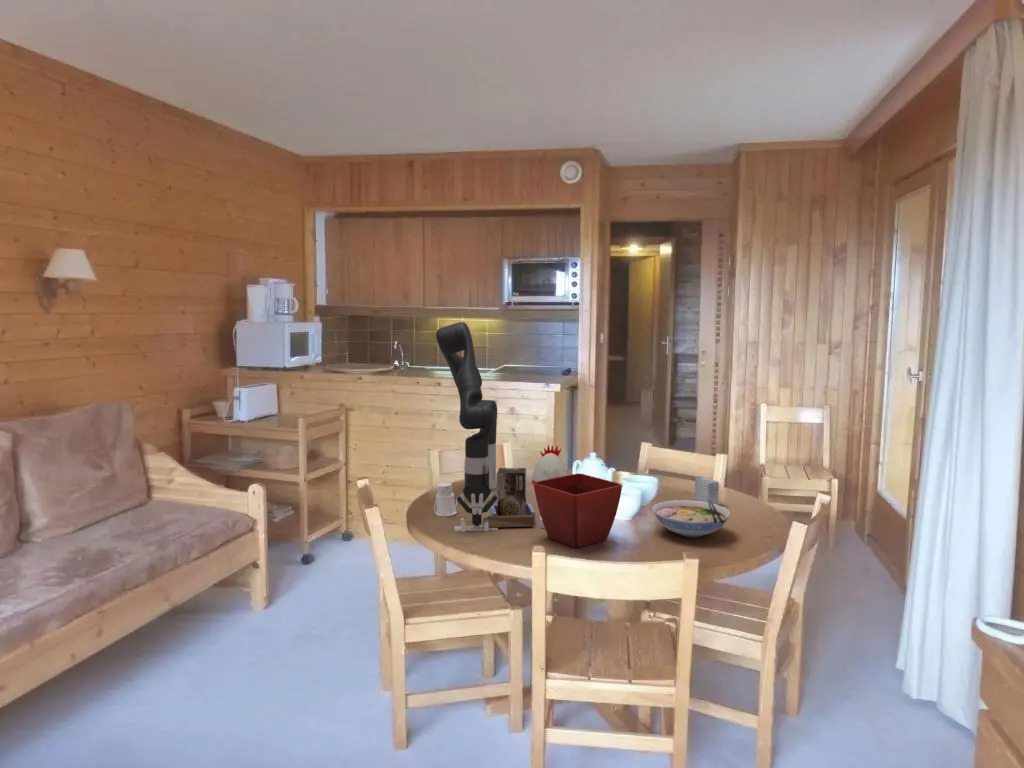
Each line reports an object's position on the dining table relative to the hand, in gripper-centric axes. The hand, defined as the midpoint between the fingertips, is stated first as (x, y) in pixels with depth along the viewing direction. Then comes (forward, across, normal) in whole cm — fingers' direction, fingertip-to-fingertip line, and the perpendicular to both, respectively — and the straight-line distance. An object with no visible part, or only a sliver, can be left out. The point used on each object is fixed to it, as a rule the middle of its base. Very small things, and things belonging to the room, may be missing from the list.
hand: (476, 525), depth 226 cm
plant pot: (+1, +29, -13) cm, 32 cm away
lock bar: (+1, +10, 0) cm, 11 cm away
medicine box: (+1, +81, +20) cm, 83 cm away
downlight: (+1, -9, +17) cm, 19 cm away
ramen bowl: (+1, +64, -12) cm, 65 cm away
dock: (+1, +12, +7) cm, 14 cm away
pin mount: (+1, +7, 0) cm, 7 cm away
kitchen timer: (+1, +31, +54) cm, 63 cm away
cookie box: (+1, +12, +7) cm, 14 cm away
